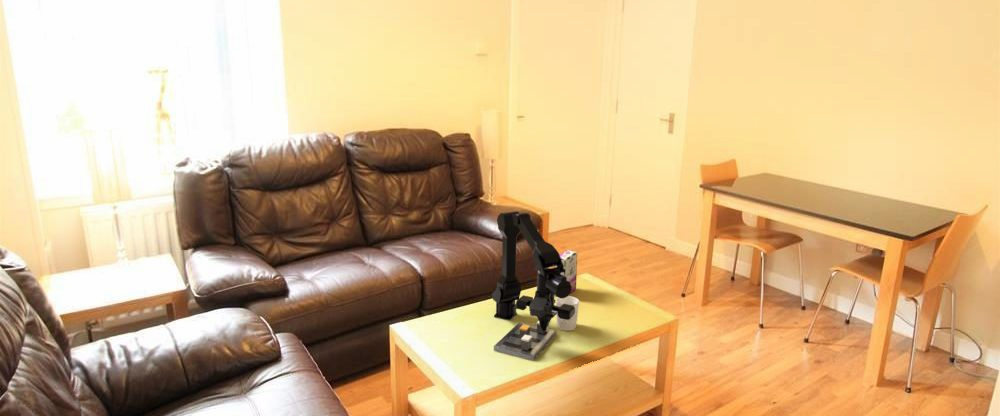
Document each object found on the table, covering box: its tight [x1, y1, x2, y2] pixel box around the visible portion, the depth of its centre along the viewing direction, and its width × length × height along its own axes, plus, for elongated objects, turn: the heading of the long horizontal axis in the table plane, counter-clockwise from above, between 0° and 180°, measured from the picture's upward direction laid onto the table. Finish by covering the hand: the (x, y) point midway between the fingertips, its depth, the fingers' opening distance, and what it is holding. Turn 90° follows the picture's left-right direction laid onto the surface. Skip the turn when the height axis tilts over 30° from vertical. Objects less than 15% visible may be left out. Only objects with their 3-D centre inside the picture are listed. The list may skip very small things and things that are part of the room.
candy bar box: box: [554, 249, 578, 298], centre depth 240 cm, size 11×5×16 cm, turn 148°
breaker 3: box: [536, 320, 548, 334], centre depth 205 cm, size 2×3×4 cm
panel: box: [493, 322, 557, 361], centre depth 201 cm, size 14×20×2 cm
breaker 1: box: [519, 324, 530, 338], centre depth 201 cm, size 2×3×4 cm
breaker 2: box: [521, 335, 532, 350], centre depth 194 cm, size 2×3×4 cm
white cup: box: [555, 295, 580, 332], centre depth 212 cm, size 8×8×10 cm
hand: (544, 331), depth 198 cm, fingers closed
